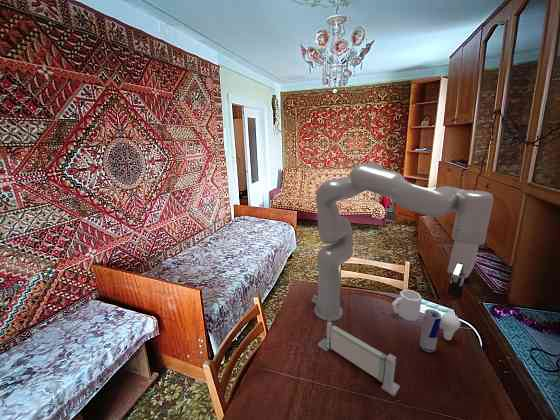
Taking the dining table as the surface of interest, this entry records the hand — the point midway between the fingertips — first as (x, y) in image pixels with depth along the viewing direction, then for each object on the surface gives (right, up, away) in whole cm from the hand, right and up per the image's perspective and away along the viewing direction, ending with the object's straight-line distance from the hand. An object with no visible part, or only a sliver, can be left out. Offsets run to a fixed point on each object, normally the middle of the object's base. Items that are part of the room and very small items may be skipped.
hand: (458, 289), depth 76 cm
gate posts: (-27, -30, +12) cm, 42 cm away
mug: (+1, -23, +36) cm, 43 cm away
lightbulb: (+11, -26, +23) cm, 36 cm away
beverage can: (+1, -27, +19) cm, 33 cm away
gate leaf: (-27, -29, +12) cm, 41 cm away
